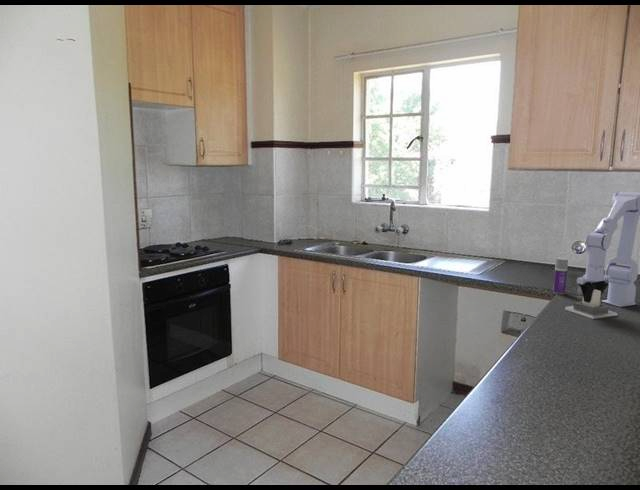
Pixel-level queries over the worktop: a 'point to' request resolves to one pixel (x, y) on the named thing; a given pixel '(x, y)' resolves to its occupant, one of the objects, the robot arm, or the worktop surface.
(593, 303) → the plug
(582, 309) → the socket plate
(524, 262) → the worktop surface
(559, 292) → the container
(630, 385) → the worktop surface
